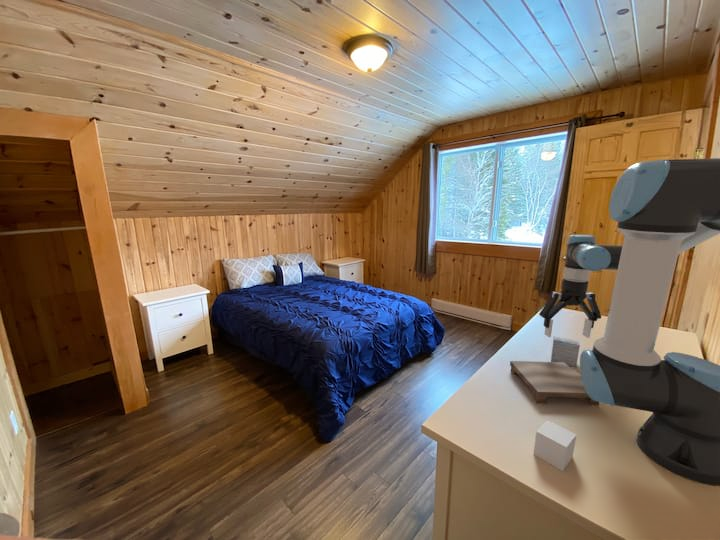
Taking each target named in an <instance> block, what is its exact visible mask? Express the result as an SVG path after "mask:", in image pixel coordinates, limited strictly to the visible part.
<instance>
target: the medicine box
mask: <svg viewBox="0 0 720 540" xmlns="http://www.w3.org/2000/svg"><path fill="white" fill-rule="evenodd" d="M580 347H581V344H580V341H579V340H577V339H573V338H572V339H571V338H566V337H560V336H555V335H554V336H553V341H552V347H551V357H550V362H564V363H566V364H567V365H568V366H569V367H575V368H577V365H578V358H579V352H580Z"/></svg>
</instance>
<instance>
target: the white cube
mask: <svg viewBox="0 0 720 540" xmlns="http://www.w3.org/2000/svg"><path fill="white" fill-rule="evenodd" d="M576 439H577V434H576V433H574V432H571V431H570V430H567V429H565V428H563V427H561V426H560V425H557V424H555V423H553V422H552V421H549V420H548V419H547V420H546V421H545V422H544V423H543V424H542V425H541V426H540V427H539V428H538V429H537V430H536V432H535V441H534V446H533V447H534V448H533V455H535V456H536V457H538V458H540V459H542V460H543V461H545V462H547V463H549V464H550V465H552V466H554V467H555V468H557V469H558V470H560V471H562V472H563V471H564V470H565V469H566V467H567V466H568V464H569V463H570V462H571V460H572V459H573V457H574V452H575V445H576Z"/></svg>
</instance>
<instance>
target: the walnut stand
mask: <svg viewBox="0 0 720 540" xmlns="http://www.w3.org/2000/svg"><path fill="white" fill-rule="evenodd" d="M509 366H510V373H511V372H512V373H511V375H512V376H513V375H519V376H518V377H520V378H521V380H523V382H524V383H525V384H526V385H527V386H528V387H529V389H530V390H531V391H532V400H533V401H534V402H535V403H536V404H539V405H541V404H542V405H543V404H544V405H546V401H547V397H548V398H549V397H550V398H575V399H576V398H579V399H580V398H581V399H582V398H583V399H584V401H585V402H586V403H587V404H588V405H589V406H599V405H600V402H597V401H594V400H593V399H591V398H590V397H589V395H588V394H587V392H586V390H585V388H584V385H583V382H582V378H581V374H579V372H577V371H575V370H574V369H573V368H572V366H570V365H567V364H566V363H564V362H552V361H526V360H523V361H522V360H519V361H518V360H511V361H510V362H509Z"/></svg>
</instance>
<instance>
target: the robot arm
mask: <svg viewBox="0 0 720 540" xmlns="http://www.w3.org/2000/svg"><path fill="white" fill-rule="evenodd" d="M608 203H609V205H608V208H609V209H608V213H609V214H608V215H609V217H610V219H611V220H613V221H615V222H617V225H616V226H617V227H616V230H617V231H619V233H621V234H622V235H623V237H624V238H623V243H622V245H615V244H614V245H612V244H611V245H609V244H596V237H595V236H594V235H590V234H571V235H570V236H569V237H568V239H567V243H566V253H565V259H564V267H563V268H564V269H563V274H562V277H563V278H562V280H561V286H560V287H561V291H560V292H555V291H554V290H553V291H552V292H551V293H550V297H549V299H547V301H546V303H545V304H544V306H543V307H542V308H541V310H540V312H539V314H538V315H539V317H542V318H543V319H544V321H543V326H544V328H545V329H544V335H545V336H546V337H548V338H551V337H552V330H553V326H554V325H553V323H554V319H553V317H555V316H556V315H557V314H558V313H559V312H560V311H561V310H562V309H563V308H566V307H567V306H577V307H578V306H579V308H580V309H581V310H582V312H583V313H584V314H585V316H586V317H584V322H583V329H582V330H583V331H582V336H584V337H586V338H588V339H590V337H591V332H592V329H594V326H595V322H597V321H598V319H601V318H602V314H601V312H600V309H599V306H598V304H597V301H596V293H593V292H592V291H588V289H589V288H588V287H589V280H590V277H591V272H599V271H602V270H604V271H605V270H608V271H617V272H616V275H615V279H614V280H615V281H614V285H613V289H612V295H611V299H610V305H609V310H608V315H607V320H606V325H605V328H604V334H603V336H602V337H600V338H598V339H596V340H595V341H594V342H593V346H592V350H591V349H584V350H582V351H581V353H580V357H579V368H580V370H579V372H580V376H581V378H582V382H583V385H584V388H585V390H586V392H587V394H588V395H589V397H590V398H591V399H593V400H594V401H597V402H599V403H602V404H606V405H610V406H612V407H616V406H617V407H623V408H627V409H633V410H638V411H643V412H650V413H652V414H651V415H650V416H649V417H648V418H647V420H646V421H645V422H644V423H643V425H642V426H640V428H639V429H638V431H637V435H636V443H637V446H638V447H639V448H640V450H641V451H642V452H643V453H644V454H645V455H646V456H647V457H648V458H650V460H652V461H654V462H655V463H657V464H658V465H660V466H662V467H663V468H665V469H666V470H668V471H670V472H672V473H674V474H677V475H679V476H680V477H683V478H685V479H688V480H691V481H692V482H696V483H701V484H705V485H708V486H709V485H710V486H720V365H719V364H718V363H715V362H714V361H713V362H712V361H709V360H707V359H704V358H701V357H697V356H694V355H692V354H686V353H684V352H683V353H682V352H675V351H672V352H667V353H665V355H664V356H663V359H662V357H661V355H659V354H658V352H657V351H655V345H656V342H657V339H658V335H659V330H660V326H661V322H662V319H663V315H664V311H665V307H666V303H667V299H668V295H669V291H670V289H671V284H672V281H673V276H674V272H675V269H676V266H677V265H676V264H677V260H678V257H679V255H680V254H682V253H685V252H686V251H688V250H690V249H692V248H694V247H696V246H698V245H701V244H702V243H704V242H706V241H708V240H710V239H712V238H713V237H715V236H718V235H720V157H719V158H716V157H715V158H714V157H713V158H690V159H689V158H685V159H684V158H682V159H681V158H680V159H679V158H678V159H676V158H675V159H663V158H661V159H658V160H649V161H640V162H636V163H635V164H632V165H631V166H629V167H628V168H626V169H625V171H624V172H623V173H622V174H621V176H620V177H619V178H618V180H617V182H616V184H615V186H614V188H613V190H612V193H611V195H610V199H609V202H608ZM585 299H586V300H587V302H588V305H587V303H586V302H585ZM588 306H589V307H588ZM589 308H590V309H589Z"/></svg>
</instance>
